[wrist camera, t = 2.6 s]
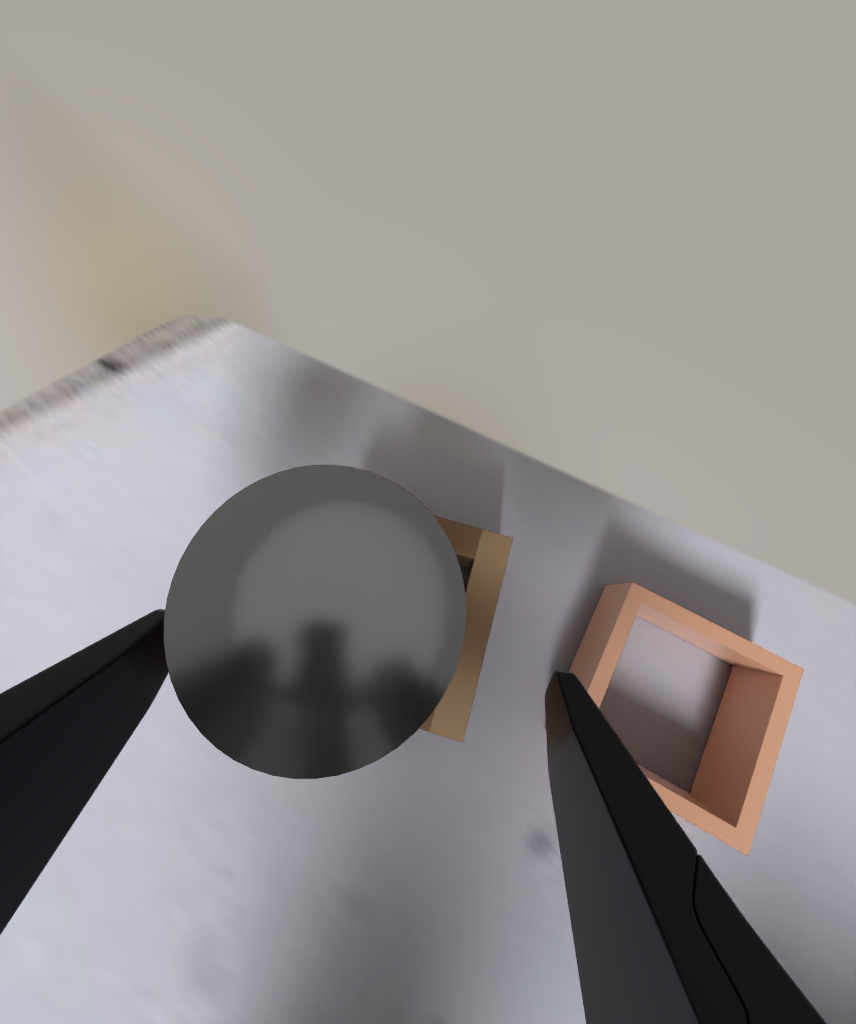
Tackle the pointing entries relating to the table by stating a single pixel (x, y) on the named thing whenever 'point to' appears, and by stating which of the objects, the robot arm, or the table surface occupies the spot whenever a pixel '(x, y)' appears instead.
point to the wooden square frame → (470, 621)
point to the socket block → (740, 718)
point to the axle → (315, 621)
